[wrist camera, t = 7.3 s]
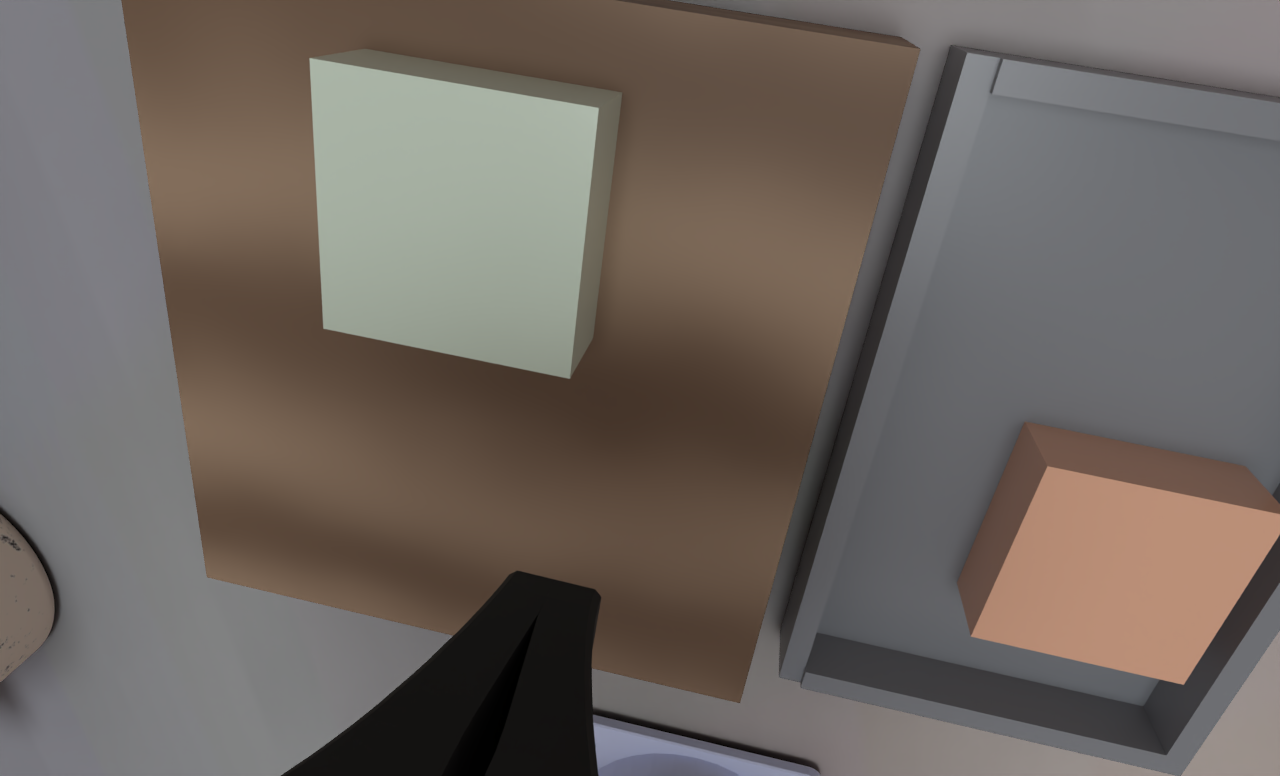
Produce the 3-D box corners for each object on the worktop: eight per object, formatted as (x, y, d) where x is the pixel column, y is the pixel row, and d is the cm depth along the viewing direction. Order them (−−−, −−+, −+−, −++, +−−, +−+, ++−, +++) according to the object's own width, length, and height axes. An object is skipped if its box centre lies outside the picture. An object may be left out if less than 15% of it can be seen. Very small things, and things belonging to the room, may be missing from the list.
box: (1151, 715, 23) (1180, 776, 21) (780, 630, 24) (778, 682, 22) (1511, 134, 15) (1603, 154, 14) (951, 45, 16) (969, 53, 15)
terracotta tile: (970, 636, 20) (956, 583, 22) (1183, 685, 19) (1151, 626, 21) (1047, 466, 18) (1024, 421, 19) (1291, 516, 17) (1245, 466, 19)
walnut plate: (746, 623, 24) (739, 703, 21) (268, 514, 25) (207, 576, 23) (901, 37, 16) (920, 49, 14) (211, -72, 18) (109, -81, 15)
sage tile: (593, 338, 17) (569, 379, 16) (370, 293, 18) (323, 328, 16) (622, 92, 15) (598, 107, 13) (365, 48, 15) (309, 57, 14)
